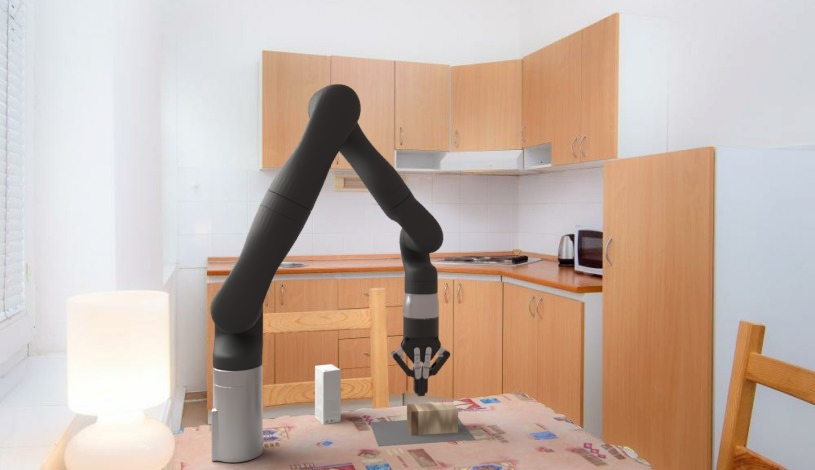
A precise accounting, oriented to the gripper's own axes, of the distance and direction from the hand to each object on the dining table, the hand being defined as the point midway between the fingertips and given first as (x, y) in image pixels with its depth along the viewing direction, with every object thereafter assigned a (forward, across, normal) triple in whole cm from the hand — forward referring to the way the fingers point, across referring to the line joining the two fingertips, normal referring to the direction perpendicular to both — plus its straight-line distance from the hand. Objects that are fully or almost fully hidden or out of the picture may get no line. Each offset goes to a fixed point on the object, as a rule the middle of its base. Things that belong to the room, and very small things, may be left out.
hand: (420, 395), depth 129 cm
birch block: (+5, -2, 0) cm, 6 cm away
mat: (+8, 0, 0) cm, 8 cm away
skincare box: (+8, -19, +11) cm, 23 cm away
